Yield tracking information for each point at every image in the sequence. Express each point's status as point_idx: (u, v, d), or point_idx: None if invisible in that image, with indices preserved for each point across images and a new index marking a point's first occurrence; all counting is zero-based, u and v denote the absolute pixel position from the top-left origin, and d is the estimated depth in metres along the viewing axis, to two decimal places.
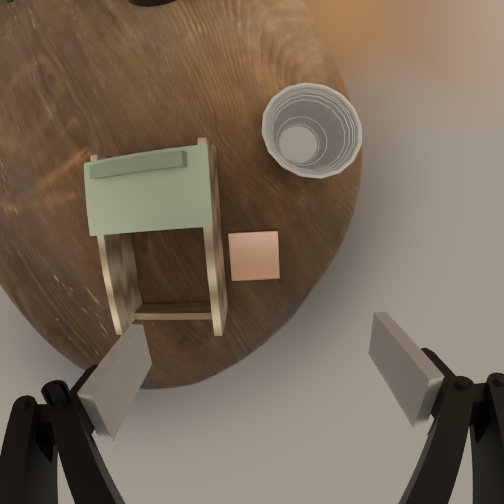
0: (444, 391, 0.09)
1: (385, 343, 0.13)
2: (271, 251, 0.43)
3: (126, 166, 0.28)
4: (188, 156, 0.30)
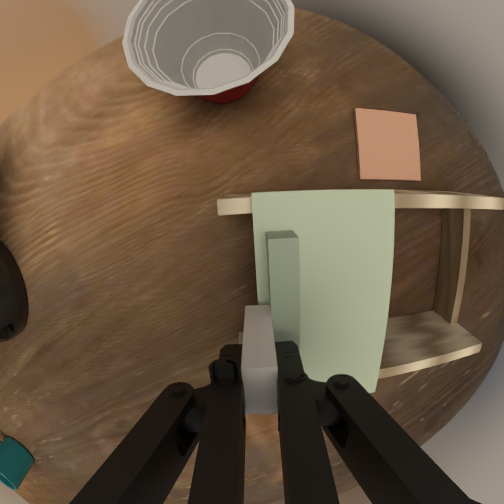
0: None
1: None
2: (382, 120, 0.25)
3: None
4: (274, 229, 0.17)
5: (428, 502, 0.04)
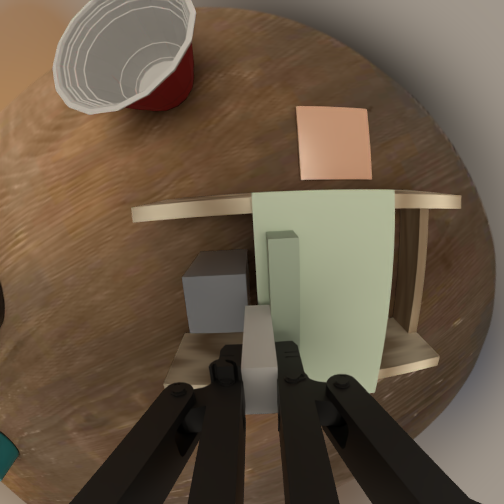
0: None
1: None
2: (327, 116, 0.25)
3: None
4: (274, 229, 0.17)
5: (428, 502, 0.04)
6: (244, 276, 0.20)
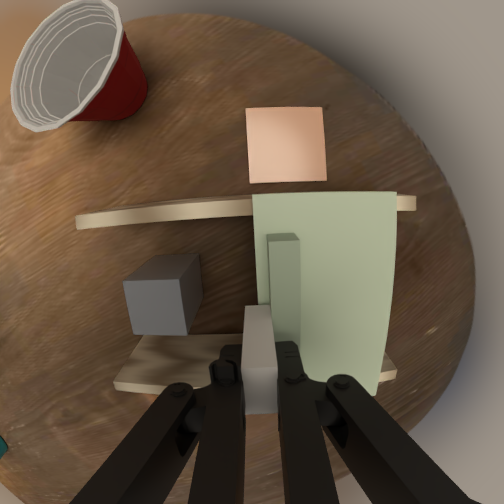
0: None
1: None
2: (278, 117, 0.25)
3: None
4: (275, 231, 0.17)
5: (428, 502, 0.04)
6: (178, 281, 0.20)
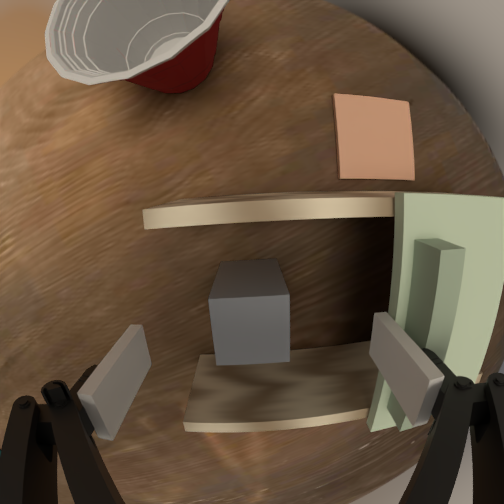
0: (444, 391, 0.09)
1: (385, 343, 0.13)
2: (368, 107, 0.21)
3: None
4: (422, 236, 0.13)
5: None
6: (288, 297, 0.16)
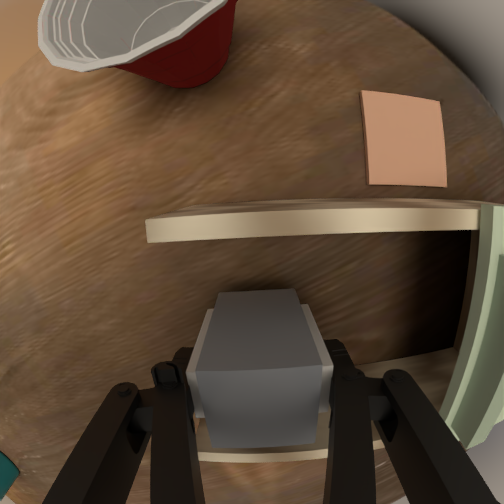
0: (334, 380, 0.11)
1: None
2: (398, 106, 0.18)
3: None
4: None
5: (459, 498, 0.04)
6: (320, 368, 0.10)
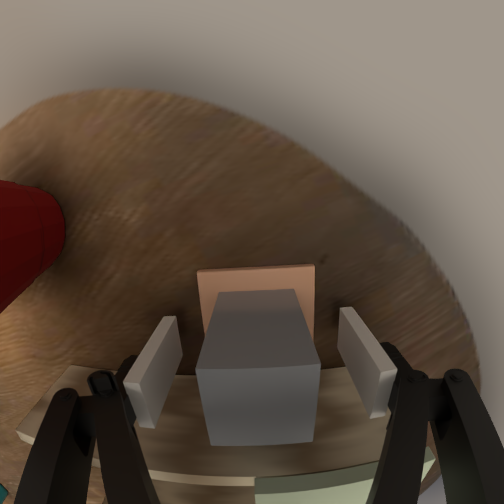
0: (398, 384, 0.10)
1: (348, 337, 0.15)
2: (246, 286, 0.18)
3: None
4: None
5: (492, 500, 0.03)
6: (318, 367, 0.10)
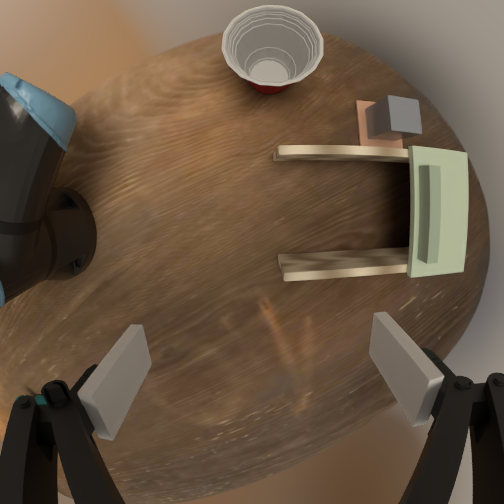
0: (444, 391, 0.09)
1: (385, 343, 0.13)
2: None
3: (436, 221, 0.28)
4: (422, 164, 0.29)
5: None
6: (417, 101, 0.29)
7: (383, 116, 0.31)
